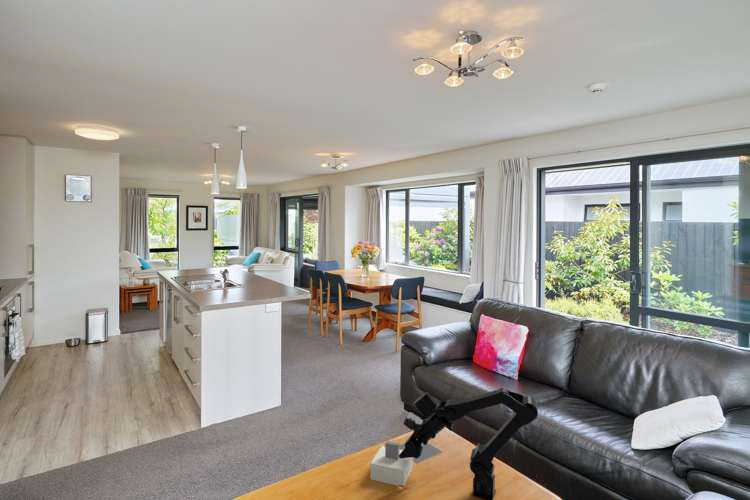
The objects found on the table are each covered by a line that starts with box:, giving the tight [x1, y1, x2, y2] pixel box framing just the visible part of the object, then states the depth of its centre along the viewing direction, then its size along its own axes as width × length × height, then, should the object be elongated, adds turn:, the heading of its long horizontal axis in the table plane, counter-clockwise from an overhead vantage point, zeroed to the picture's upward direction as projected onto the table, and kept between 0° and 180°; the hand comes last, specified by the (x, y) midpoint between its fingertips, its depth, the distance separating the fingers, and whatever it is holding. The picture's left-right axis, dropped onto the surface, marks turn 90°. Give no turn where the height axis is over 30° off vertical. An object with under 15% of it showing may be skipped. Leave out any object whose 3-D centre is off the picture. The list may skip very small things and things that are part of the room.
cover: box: [369, 440, 414, 487], centre depth 150 cm, size 13×13×11 cm
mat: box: [400, 442, 443, 464], centre depth 165 cm, size 14×14×1 cm
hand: (403, 450), depth 148 cm, fingers open, 9 cm apart
